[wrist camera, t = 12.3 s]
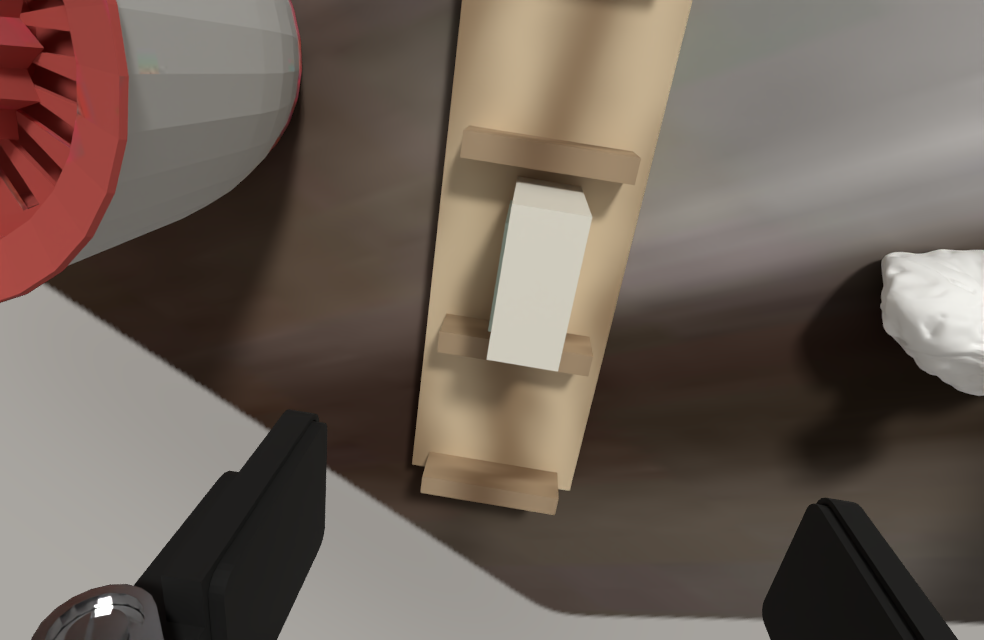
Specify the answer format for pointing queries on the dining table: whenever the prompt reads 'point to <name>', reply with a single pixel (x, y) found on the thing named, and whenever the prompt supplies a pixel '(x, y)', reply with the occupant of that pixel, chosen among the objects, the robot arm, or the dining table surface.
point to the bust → (938, 312)
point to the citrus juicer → (130, 118)
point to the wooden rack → (482, 215)
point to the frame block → (538, 273)
